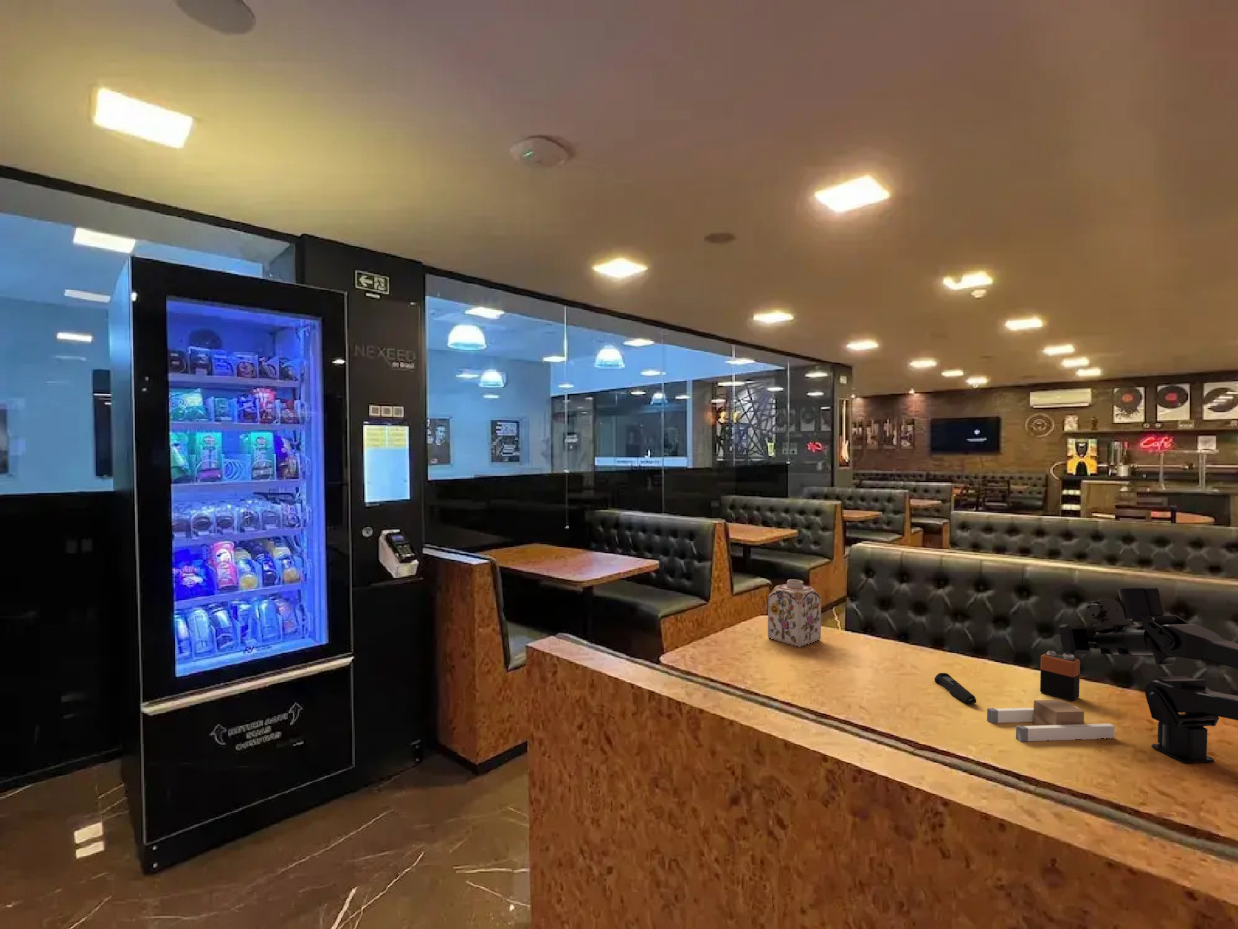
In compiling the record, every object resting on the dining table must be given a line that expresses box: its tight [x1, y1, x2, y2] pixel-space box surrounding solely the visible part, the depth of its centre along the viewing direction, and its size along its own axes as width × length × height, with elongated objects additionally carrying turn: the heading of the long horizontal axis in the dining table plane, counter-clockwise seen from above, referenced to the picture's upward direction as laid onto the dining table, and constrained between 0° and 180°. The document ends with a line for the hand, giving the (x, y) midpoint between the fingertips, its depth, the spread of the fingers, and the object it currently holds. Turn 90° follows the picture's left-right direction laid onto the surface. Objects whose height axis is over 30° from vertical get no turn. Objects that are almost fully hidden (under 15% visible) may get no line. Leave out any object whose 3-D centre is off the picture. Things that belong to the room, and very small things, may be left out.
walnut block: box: [1032, 699, 1085, 726], centre depth 127 cm, size 6×6×5 cm
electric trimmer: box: [933, 672, 977, 704], centre depth 146 cm, size 4×16×3 cm, turn 176°
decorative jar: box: [767, 578, 822, 648], centre depth 187 cm, size 12×12×18 cm
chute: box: [986, 705, 1115, 743], centre depth 127 cm, size 10×20×3 cm, turn 95°
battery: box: [1039, 650, 1081, 702], centre depth 146 cm, size 4×7×10 cm, turn 37°
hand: (1071, 640), depth 141 cm, fingers open, 9 cm apart
